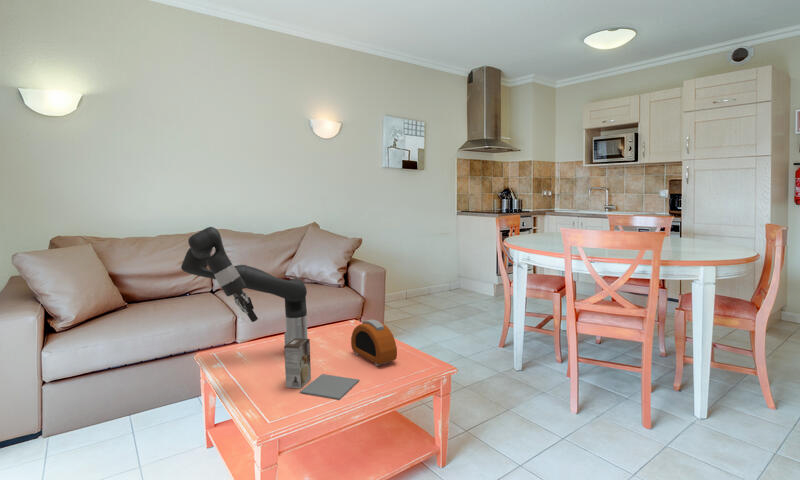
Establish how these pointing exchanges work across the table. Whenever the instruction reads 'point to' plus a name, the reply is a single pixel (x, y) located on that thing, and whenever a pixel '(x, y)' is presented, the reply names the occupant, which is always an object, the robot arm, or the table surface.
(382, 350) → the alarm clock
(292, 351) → the coffee box
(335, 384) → the mat
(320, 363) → the table surface
